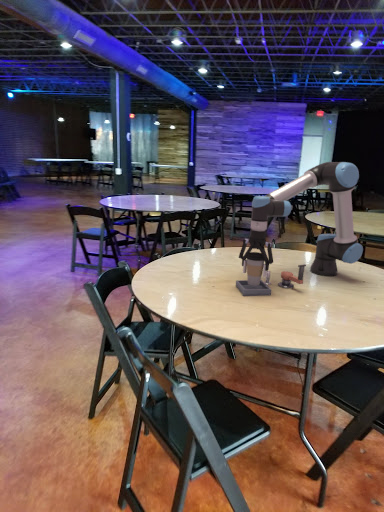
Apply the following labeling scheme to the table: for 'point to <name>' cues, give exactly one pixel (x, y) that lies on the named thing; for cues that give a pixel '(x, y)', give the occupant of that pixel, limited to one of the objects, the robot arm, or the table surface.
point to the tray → (253, 288)
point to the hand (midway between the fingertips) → (254, 274)
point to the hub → (285, 284)
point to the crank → (290, 276)
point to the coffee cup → (254, 268)
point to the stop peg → (267, 278)
